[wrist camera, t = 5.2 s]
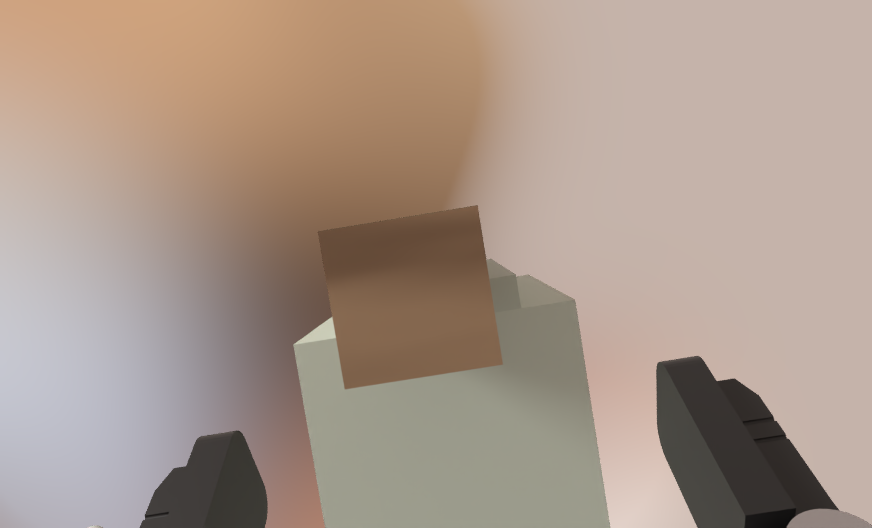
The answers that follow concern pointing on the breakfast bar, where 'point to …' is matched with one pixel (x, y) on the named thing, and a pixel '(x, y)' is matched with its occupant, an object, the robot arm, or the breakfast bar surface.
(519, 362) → the post
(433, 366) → the bar
